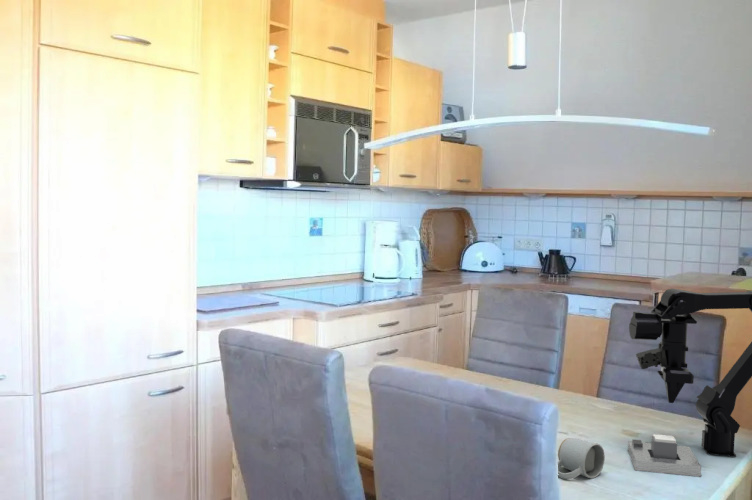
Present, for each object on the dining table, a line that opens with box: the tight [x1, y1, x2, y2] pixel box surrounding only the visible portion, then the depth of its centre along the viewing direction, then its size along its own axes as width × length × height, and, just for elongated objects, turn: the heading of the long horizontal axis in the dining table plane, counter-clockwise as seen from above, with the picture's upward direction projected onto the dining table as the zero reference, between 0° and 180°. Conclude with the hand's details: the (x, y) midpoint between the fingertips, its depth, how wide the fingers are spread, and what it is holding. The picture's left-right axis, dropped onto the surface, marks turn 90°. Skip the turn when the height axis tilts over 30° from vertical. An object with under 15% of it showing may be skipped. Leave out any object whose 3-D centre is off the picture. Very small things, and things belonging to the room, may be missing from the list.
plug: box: [650, 433, 678, 460], centre depth 165 cm, size 5×4×7 cm
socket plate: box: [627, 439, 702, 478], centre depth 166 cm, size 14×13×3 cm
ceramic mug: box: [556, 437, 606, 480], centre depth 158 cm, size 11×8×8 cm
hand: (670, 402), depth 174 cm, fingers closed
